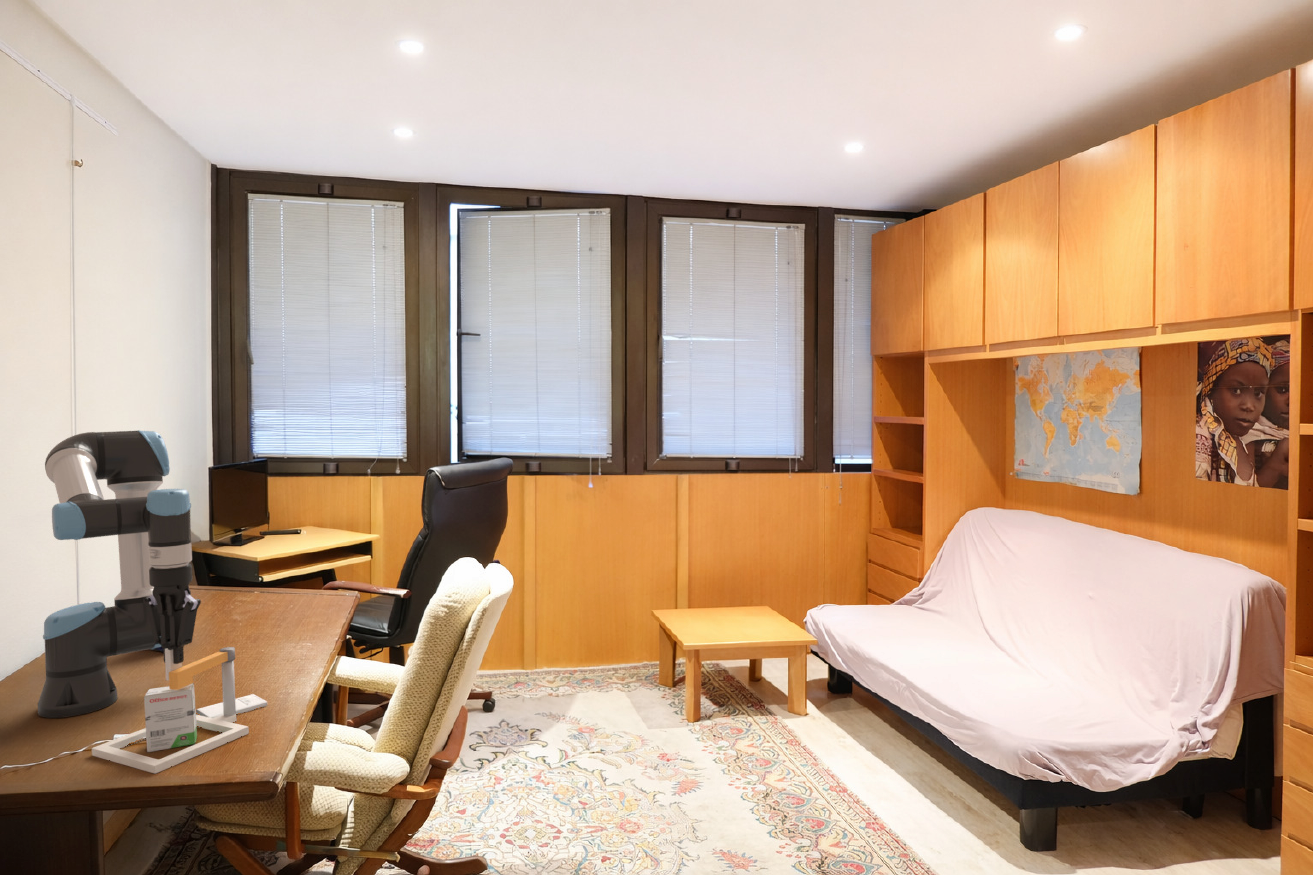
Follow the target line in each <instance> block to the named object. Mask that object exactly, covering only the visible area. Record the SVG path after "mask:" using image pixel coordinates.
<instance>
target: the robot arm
mask: <svg viewBox="0 0 1313 875" xmlns="http://www.w3.org/2000/svg"><path fill="white" fill-rule="evenodd" d="M44 468H45V473H46V476H47V478H48V479H49V480H50V481H51V482H52V483H53V484H54V486H55V491H56V493H57V498H58V502H59V503H56V504H54V505H53V507H51V508H52V509H51V523H52V526H51V527H52V533H53V537H54V538H55V539H56V540H58V541H70V540H74V541H79V540H83V539H92V538H101V537H109V536H117V539H118V540H117V541H118V542H117V543H118V555H119V556H118V557H119V559H118V560H119V570H120V571H119V574H120V587H121V588H120V592H119V593H118V594H117V595H116V596H115V597H114V602H113V603H114V605H113V606H108V607H106V605H105V603H103V602H101V601H94V602H92V601H91V602H85V603H84V602H83V603H80V604H79V603H78V604H75V605H72V606H68V607H65V608H62V609H59V610H57V611H54V612H53V613H51V614H50V615H48V616H47V617H46V618H45V619H44V623H43V635H42V639H43V640H44V659H45V660H44V662H45V664H44V665H45V666H44V667H45V680H44V684H43V687H42V690H41V693H40V696H39V699H38V702H37V714H38V716H39V717H42V718H48V719H57V718H58V719H60V718H67V717H68V718H69V717H74V716H79V715H84V714H85V715H86V714H88V713H93V712H95V711H99V710H101V709H104V708H106V707H109V706H111V705H113V704H114V703H116V701H118V689H117V686H116V684H115V682H114V680H113V679H112V676H111V674H110V671H109V670H108V661H107V660H108V657H113V656H118V655H123V654H129V653H134V652H140V651H145V650H151V649H154V648H157V647H162V648H163V652H162V653H163V662H164V664H165V665H164V666H165V681H169V672H171V671H173V670H176V669H178V668H181V667H183V662H184V660H185V659H184V658H185V657H184V654H185V653H184V652H185V651H184V648H185V646H187V645H190V644H191V643H192V642H193V639H194V638H193V636H194V632H195V625H196V619H197V614H198V609H199V607H200V606H201V604H202V600H201V599H200V598H194V597H193V596H192V595H191V594H192V592H191V589H190V583H191V582H192V581H193V565H192V564H191V561H193V550H192V548H193V547H192V534H191V533H192V532H191V527H192V525H191V508H192V503H191V501H190V500H191V499H190V493H189V491H188V490H187V489H185V488H164V489H159V488H160V487H161V486H162V484H163V483H164V481H163V477H166V476H168V475H169V473H170V470H171V469H170V460H169V453H168V450H167V446H166V444H165V440H164V438H163V437H162V435H161V434H160V433H159V432H157V431H154V430H140V429H139V430H124V431H123V430H122V431H96V432H95V431H91V432H90V431H89V432H82V433H78V434H74V435H71V436H69V437H68V438H65V439H64V440H62V441H61V442H59V443H57V444H56V445H55V446H54V447H53V448H52V449H50V452H49V453H48V454H47V456H46V458H45V462H44ZM98 480H99V481H100V480H106V487H107V488H108V489H109V490H111V491H112V492H113V493H114V494H115V498H113V499H112V498H111V499H105V498H104V495H103V492H102V489H101V487H100V484H99V481H98Z"/></svg>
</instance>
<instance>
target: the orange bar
mask: <svg viewBox="0 0 1313 875" xmlns="http://www.w3.org/2000/svg"><path fill="white" fill-rule="evenodd" d="M232 660H234V661H235V660H236V648H235V647H234V646H228V647H223V648H220V649H219V651H217V652H215V653H212V654H210V655H207V656H205V657H203V658H200V659H198V660H194V661H193V662H191V663H188V664H186V665H182V667H181V668H178V669H176V670H173V671H171V672H169V682H168V684H169V685H168V686H169V688H170V689H172V690H179V689H181V688H183V687H186V686H188V685H190V684H192V683H194V676H196V675H198V674H201V673H203V672H205V671H208V670H210V669H212V668H214V667H216V666H219V665H222V663H224V662H228V661H232Z"/></svg>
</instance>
